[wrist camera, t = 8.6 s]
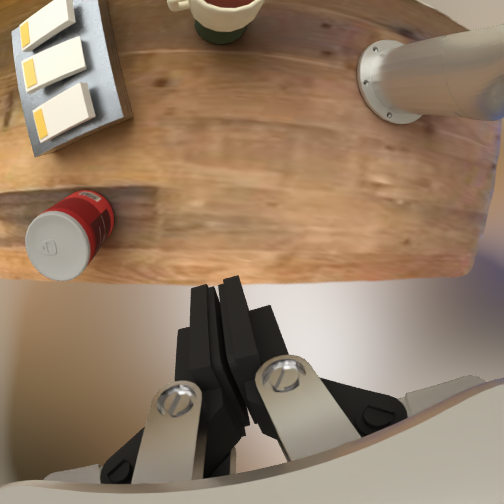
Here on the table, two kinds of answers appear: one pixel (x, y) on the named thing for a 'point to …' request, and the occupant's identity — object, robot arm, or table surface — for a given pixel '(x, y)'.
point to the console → (80, 76)
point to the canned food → (69, 235)
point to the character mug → (219, 17)
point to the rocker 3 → (64, 112)
